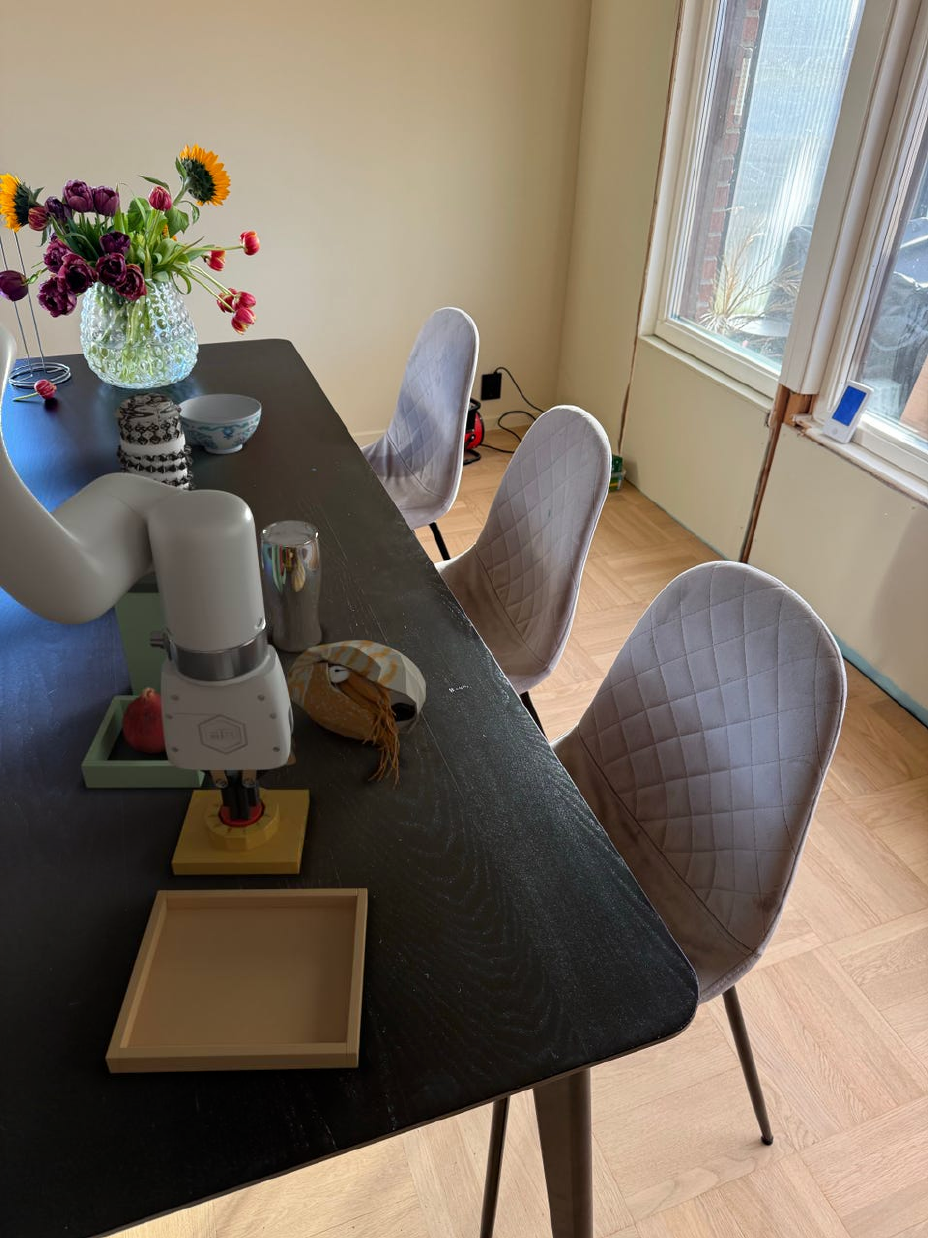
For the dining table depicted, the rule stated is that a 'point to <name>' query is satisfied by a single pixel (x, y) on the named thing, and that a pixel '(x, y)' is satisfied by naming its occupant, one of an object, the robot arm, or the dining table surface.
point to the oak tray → (245, 982)
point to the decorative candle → (154, 440)
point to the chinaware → (220, 420)
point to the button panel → (243, 836)
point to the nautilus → (359, 692)
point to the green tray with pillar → (144, 666)
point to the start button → (254, 817)
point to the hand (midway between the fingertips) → (243, 809)
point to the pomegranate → (145, 723)
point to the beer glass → (292, 582)
